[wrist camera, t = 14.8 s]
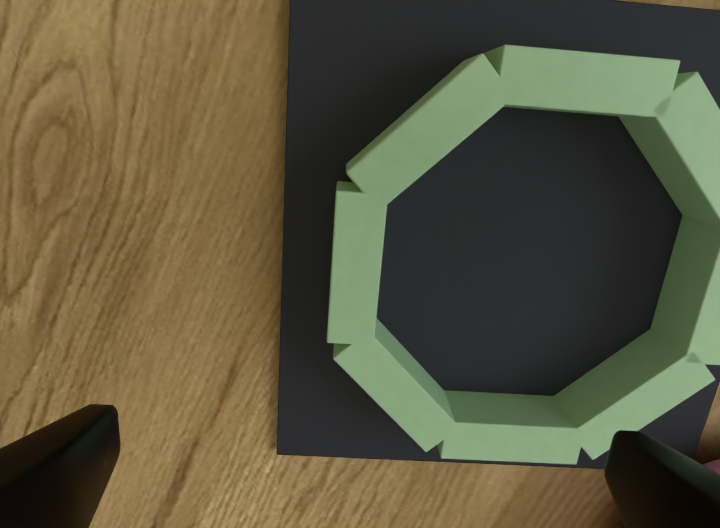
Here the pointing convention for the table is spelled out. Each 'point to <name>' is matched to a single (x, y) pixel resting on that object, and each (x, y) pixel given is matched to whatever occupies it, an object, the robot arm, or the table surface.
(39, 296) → the table surface
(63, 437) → the robot arm
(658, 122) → the ring
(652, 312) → the mat
